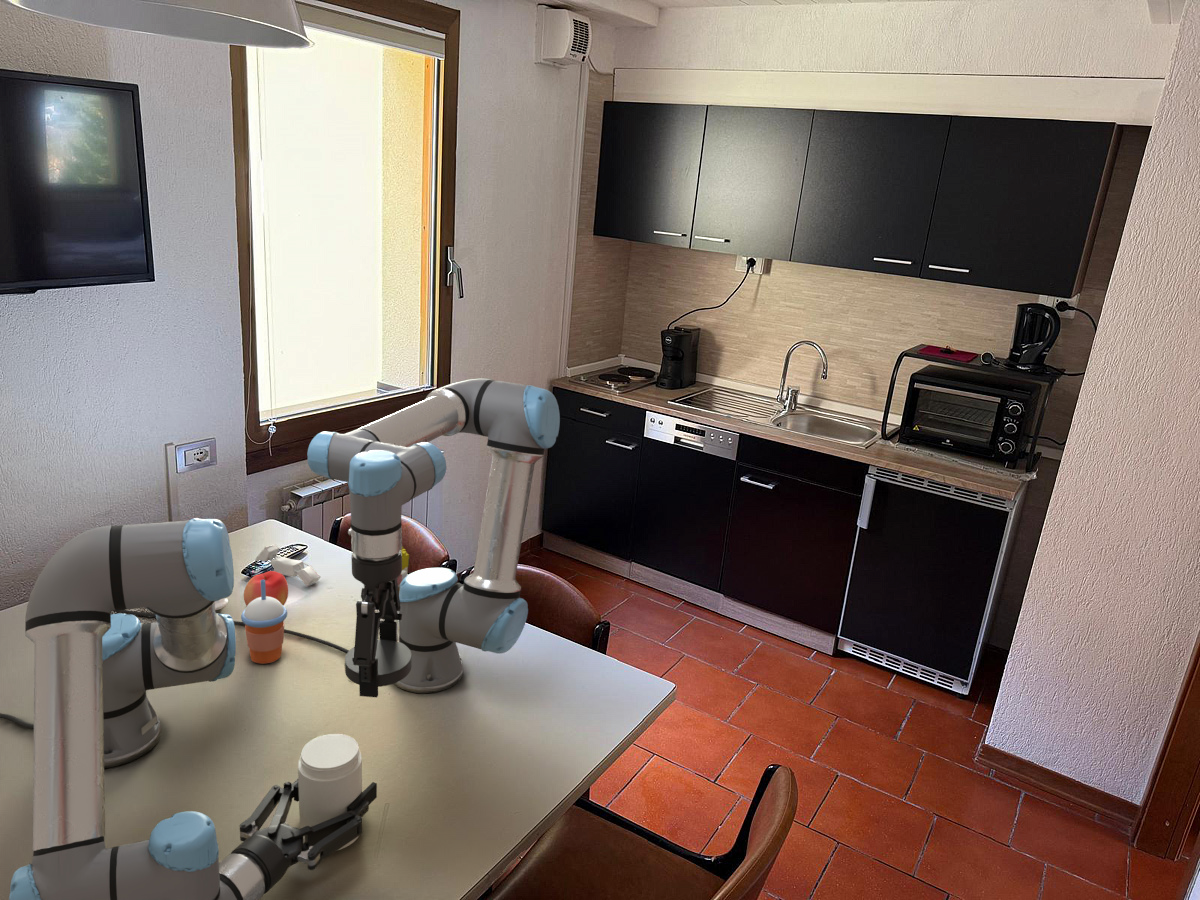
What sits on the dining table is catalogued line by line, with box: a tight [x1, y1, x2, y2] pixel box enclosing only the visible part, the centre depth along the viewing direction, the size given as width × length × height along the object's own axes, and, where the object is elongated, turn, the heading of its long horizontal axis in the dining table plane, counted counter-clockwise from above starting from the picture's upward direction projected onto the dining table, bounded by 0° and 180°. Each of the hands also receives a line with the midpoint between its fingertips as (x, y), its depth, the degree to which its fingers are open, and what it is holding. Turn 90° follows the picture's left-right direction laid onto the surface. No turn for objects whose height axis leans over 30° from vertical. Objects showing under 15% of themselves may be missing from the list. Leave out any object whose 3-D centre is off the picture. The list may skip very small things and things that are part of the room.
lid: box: [344, 639, 412, 688], centre depth 137 cm, size 10×10×2 cm
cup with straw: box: [240, 580, 288, 665], centre depth 181 cm, size 9×9×18 cm
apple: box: [243, 570, 289, 607], centre depth 199 cm, size 10×10×10 cm
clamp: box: [254, 544, 322, 587], centre depth 219 cm, size 20×4×7 cm, turn 62°
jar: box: [297, 733, 363, 851], centre depth 135 cm, size 10×10×15 cm
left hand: (348, 779), depth 140 cm, fingers closed on jar, 10 cm apart
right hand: (379, 675), depth 138 cm, fingers closed on lid, 10 cm apart
